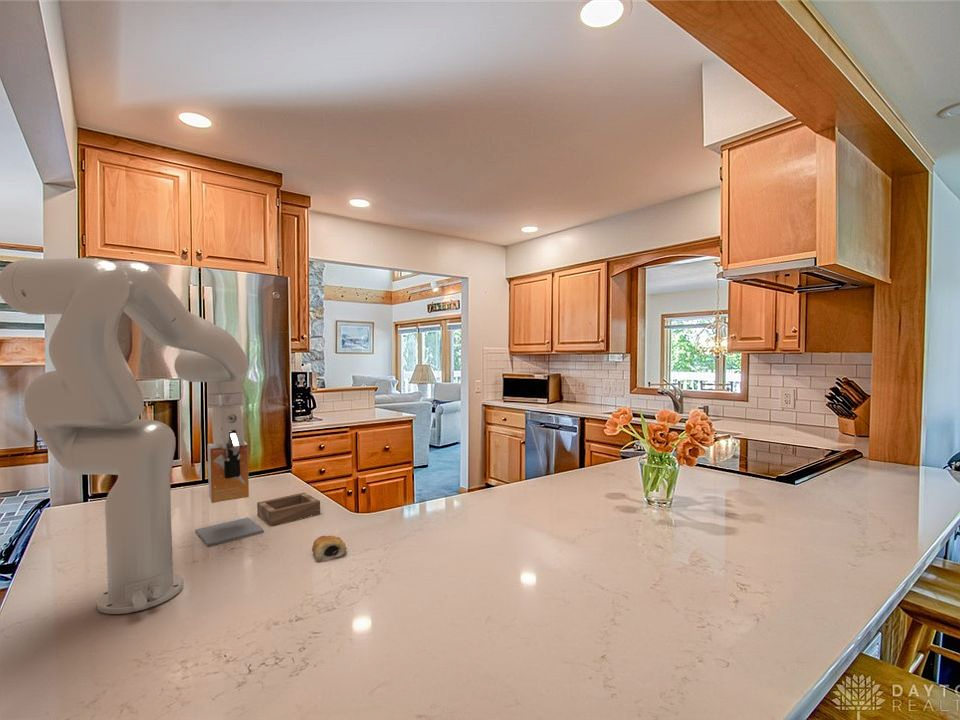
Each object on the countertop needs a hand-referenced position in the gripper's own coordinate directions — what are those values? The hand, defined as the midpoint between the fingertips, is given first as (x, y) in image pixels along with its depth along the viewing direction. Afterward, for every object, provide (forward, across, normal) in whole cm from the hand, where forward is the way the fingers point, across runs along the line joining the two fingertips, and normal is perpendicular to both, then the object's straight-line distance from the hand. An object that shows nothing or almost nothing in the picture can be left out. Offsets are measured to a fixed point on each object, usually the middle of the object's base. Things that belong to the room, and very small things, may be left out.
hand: (228, 473), depth 115 cm
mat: (+14, 0, 0) cm, 14 cm away
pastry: (+15, -28, -12) cm, 34 cm away
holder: (+14, +2, -15) cm, 21 cm away
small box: (+6, 0, 0) cm, 6 cm away
